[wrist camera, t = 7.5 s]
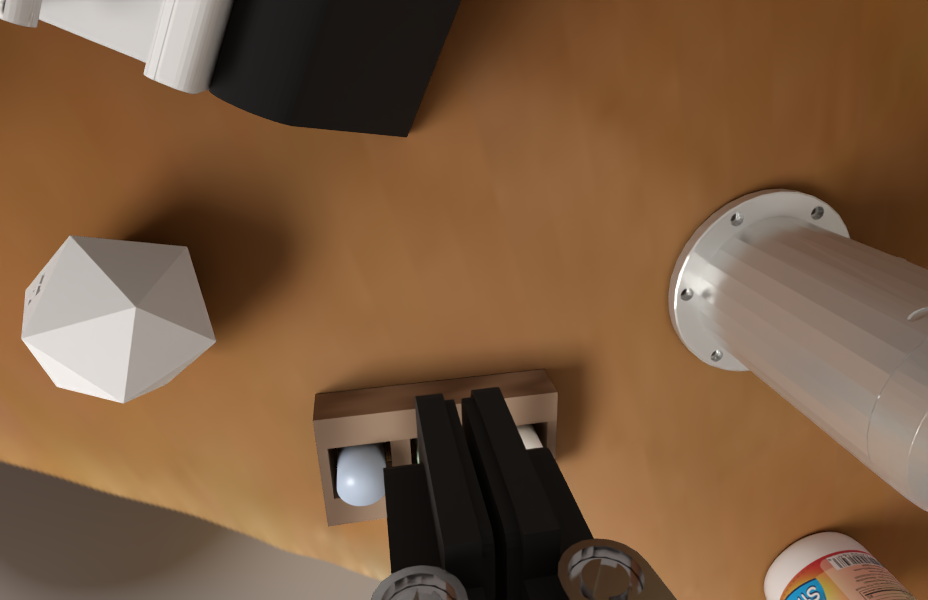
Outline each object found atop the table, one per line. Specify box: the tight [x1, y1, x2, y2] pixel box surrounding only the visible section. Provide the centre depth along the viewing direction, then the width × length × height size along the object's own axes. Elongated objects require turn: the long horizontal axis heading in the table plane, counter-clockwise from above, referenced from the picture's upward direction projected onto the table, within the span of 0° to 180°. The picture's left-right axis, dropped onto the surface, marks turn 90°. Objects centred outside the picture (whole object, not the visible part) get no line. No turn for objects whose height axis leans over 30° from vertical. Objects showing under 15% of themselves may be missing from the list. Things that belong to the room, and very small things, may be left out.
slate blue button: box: [337, 442, 386, 506], centre depth 39 cm, size 3×3×4 cm
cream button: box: [516, 424, 543, 449], centre depth 40 cm, size 3×3×4 cm
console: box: [313, 369, 558, 526], centre depth 41 cm, size 15×8×3 cm, turn 92°
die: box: [21, 235, 216, 403], centre depth 32 cm, size 8×9×10 cm
